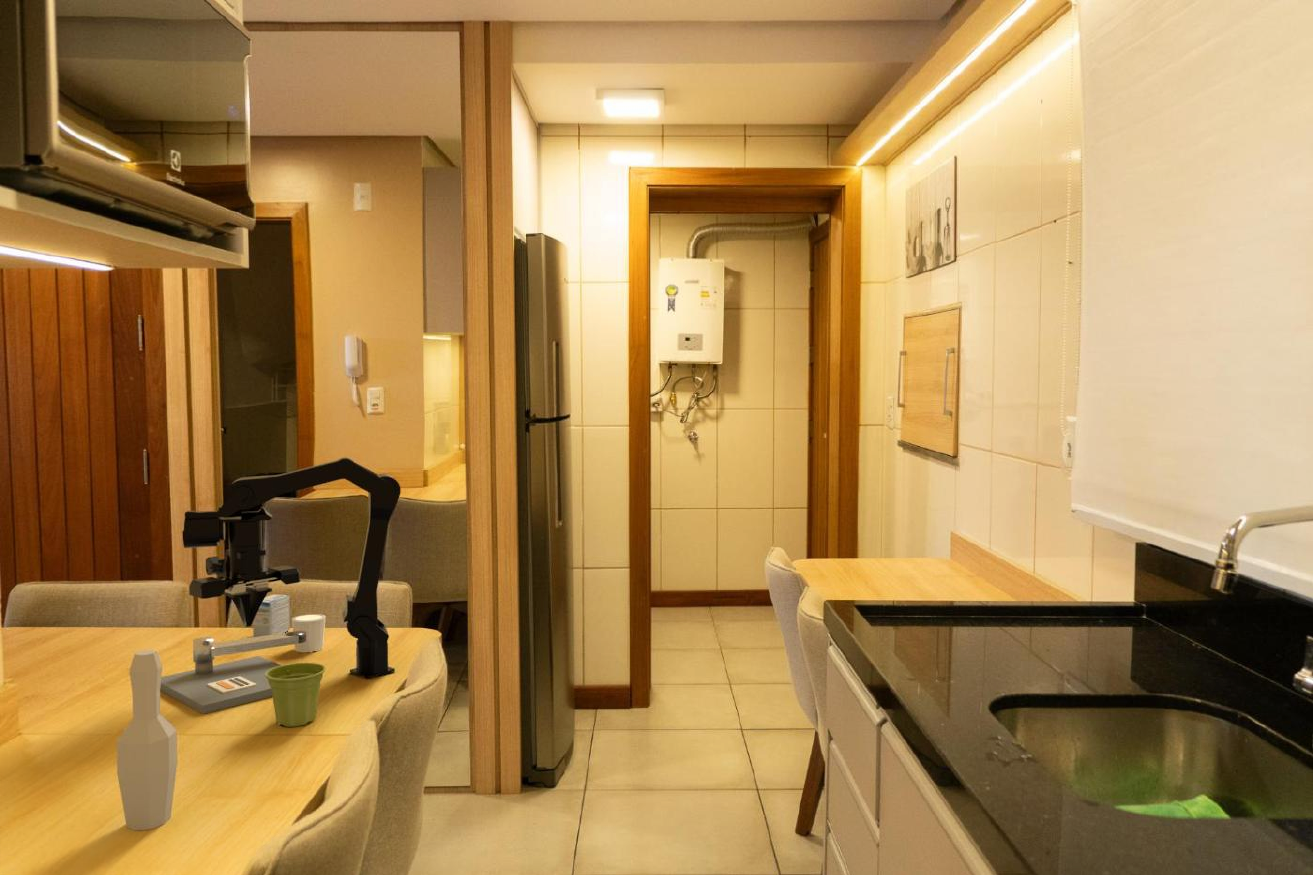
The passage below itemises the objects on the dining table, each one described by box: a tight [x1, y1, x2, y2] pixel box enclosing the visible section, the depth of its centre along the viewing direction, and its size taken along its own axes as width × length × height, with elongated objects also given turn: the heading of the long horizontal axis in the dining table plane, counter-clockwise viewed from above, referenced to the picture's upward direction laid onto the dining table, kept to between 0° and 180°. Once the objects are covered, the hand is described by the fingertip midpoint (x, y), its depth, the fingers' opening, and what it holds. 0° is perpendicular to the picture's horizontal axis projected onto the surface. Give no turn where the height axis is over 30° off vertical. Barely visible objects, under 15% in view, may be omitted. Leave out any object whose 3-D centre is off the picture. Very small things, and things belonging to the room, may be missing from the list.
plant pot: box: [265, 662, 326, 728], centre depth 148 cm, size 9×9×9 cm
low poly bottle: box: [116, 649, 178, 831], centre depth 112 cm, size 6×6×22 cm
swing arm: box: [192, 631, 306, 663], centre depth 175 cm, size 21×4×4 cm, turn 127°
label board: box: [160, 655, 282, 715], centre depth 166 cm, size 22×20×4 cm
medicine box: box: [252, 594, 291, 638], centre depth 202 cm, size 8×4×9 cm, turn 172°
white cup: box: [291, 613, 326, 653], centre depth 191 cm, size 7×7×7 cm
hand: (247, 626), depth 166 cm, fingers closed
